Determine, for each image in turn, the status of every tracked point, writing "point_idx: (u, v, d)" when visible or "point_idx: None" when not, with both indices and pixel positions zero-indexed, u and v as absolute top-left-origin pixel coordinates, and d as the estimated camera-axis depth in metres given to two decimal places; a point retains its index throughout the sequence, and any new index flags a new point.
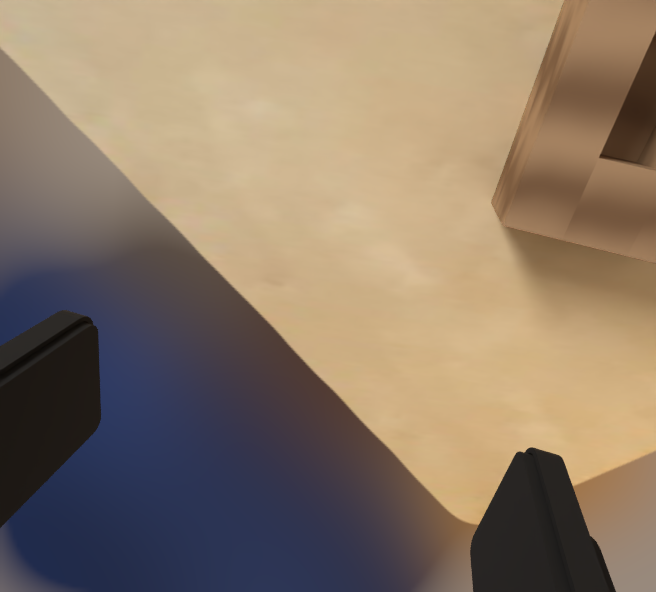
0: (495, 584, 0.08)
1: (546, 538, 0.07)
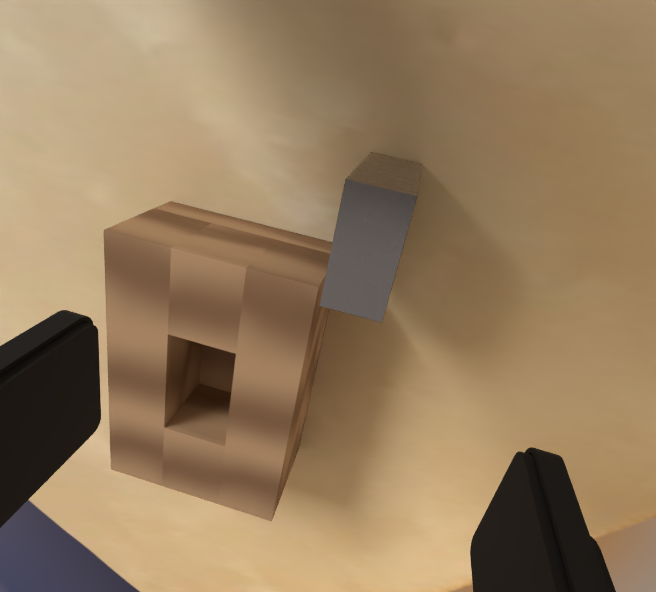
0: (496, 583, 0.08)
1: (546, 538, 0.07)
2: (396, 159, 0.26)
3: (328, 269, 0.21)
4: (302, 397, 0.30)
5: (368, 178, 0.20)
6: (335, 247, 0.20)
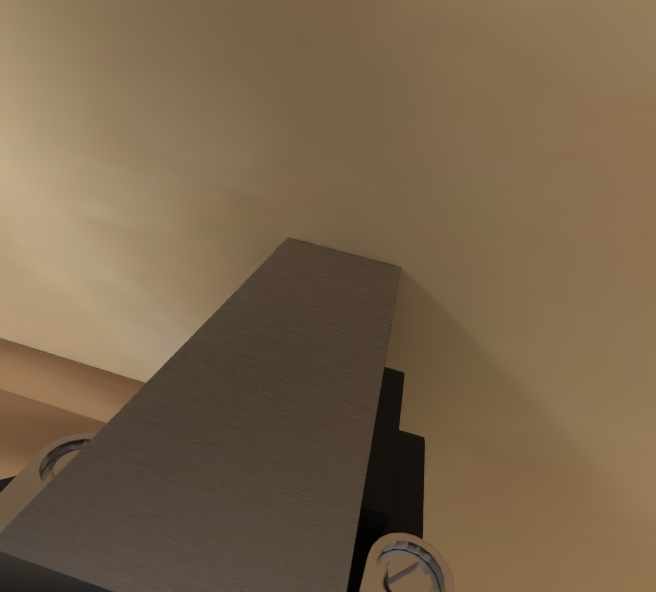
0: None
1: None
2: (341, 260, 0.11)
3: None
4: None
5: (154, 469, 0.05)
6: None
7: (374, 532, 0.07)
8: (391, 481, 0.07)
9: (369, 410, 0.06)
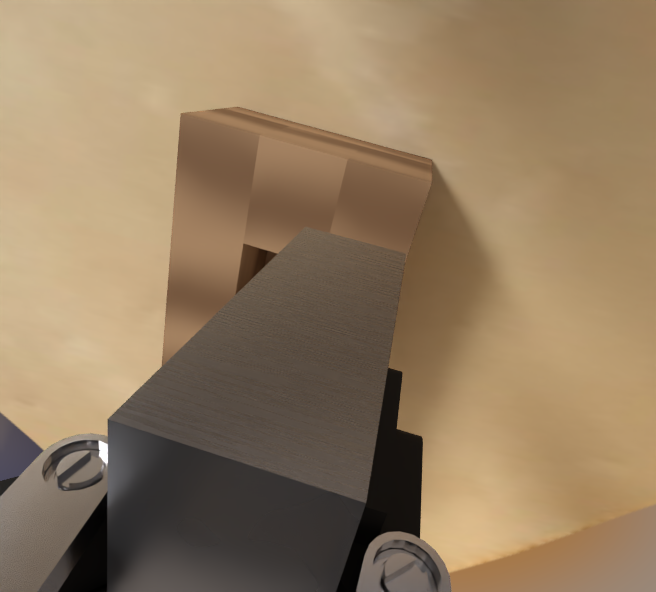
0: None
1: None
2: (353, 245, 0.13)
3: None
4: None
5: (219, 381, 0.06)
6: (117, 590, 0.06)
7: (371, 531, 0.07)
8: (388, 480, 0.07)
9: (384, 353, 0.08)
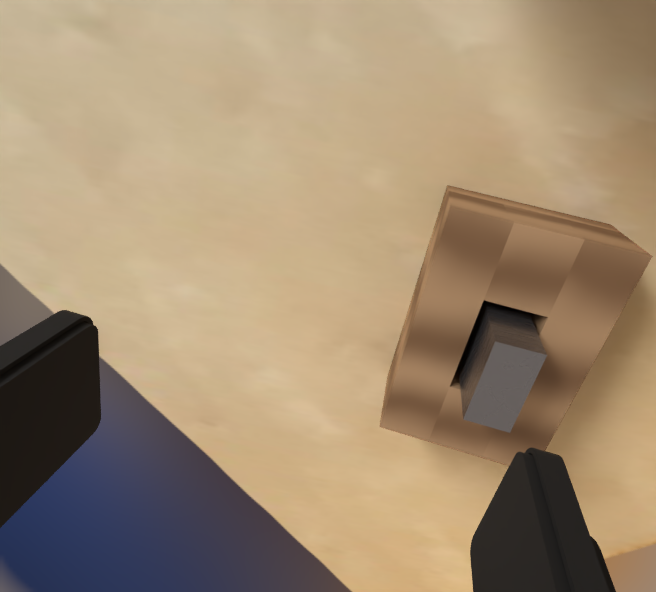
0: (496, 584, 0.08)
1: (546, 538, 0.07)
2: None
3: (473, 396, 0.29)
4: None
5: (506, 335, 0.28)
6: (481, 383, 0.28)
7: None
8: None
9: (534, 329, 0.29)
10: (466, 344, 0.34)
